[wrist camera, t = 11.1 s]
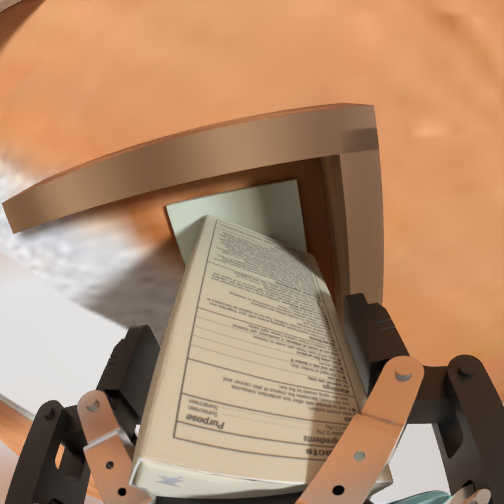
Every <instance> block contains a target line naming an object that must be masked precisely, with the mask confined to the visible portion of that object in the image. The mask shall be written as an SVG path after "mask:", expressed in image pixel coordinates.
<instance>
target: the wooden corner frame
mask: <svg viewBox="0 0 504 504" xmlns="http://www.w3.org/2000/svg"><path fill="white" fill-rule="evenodd" d="M317 157H320V161H321V168H322V176H323V183H324V191H325V199H326V208H327V216H328V226H329V236H330V246H331V257H332V269H333V283H334V298H335V309H336V311H337V314H338V317H339V319H340V322H341V325H342V327H343V330H344V332H345V329H344V303H343V298H344V296H346V295H351V294H356V293H361V292H362V293H363V294H364V296H365V298H366V300H367V302H368V304H372V303H376V302H377V303H379V304H380V305H381V306H382V297H383V267H384V229H383V199H382V181H381V167H380V155H379V145H378V135H377V127H376V118H375V111H374V105H364V104H351V103H337V104H328V105H319V106H312V107H304V108H297V109H290V110H284V111H278V112H272V113H266V114H260V115H255V116H250V117H245V118H240V119H235V120H230V121H225V122H221V123H216V124H212V125H208V126H204V127H199V128H195V129H191V130H188V131H184V132H180V133H176V134H173V135H169V136H165V137H162V138H158V139H155V140H152V141H148V142H145V143H142V144H138V145H135V146H132V147H129V148H126V149H123V150H120V151H117V152H114V153H111V154H108V155H105V156H102V157H100V158H97V159H94V160H91V161H89V162H86V163H83V164H81V165H78V166H76V167H73V168H71V169H68V170H66V171H63V172H61V173H58V174H56V175H53V176H51V177H49V178H46V179H44V180H42V181H41V182H39V183H37V184H35V185H33V186H31V187H29V188H28V189H26V190H24V191H22V192H20V193H19V194H17V195H15V196H13V197H12V198H10V199H8V200H7V201H5V202H3V203H2V205H3V208H4V211H5V214H6V216H7V219H8V221H9V224H10V227H11V229H12V231H13V234H15V233H17V232H20V231H23V230H26V229H29V228H31V227H34V226H37V225H40V224H43V223H46V222H49V221H52V220H55V219H58V218H61V217H64V216H67V215H70V214H73V213H76V212H80V211H83V210H86V209H89V208H93V207H96V206H99V205H103V204H106V203H110V202H113V201H117V200H120V199H124V198H127V197H131V196H135V195H138V194H142V193H146V192H150V191H154V190H158V189H162V188H166V187H170V186H174V185H178V184H182V183H186V182H191V181H195V180H199V179H204V178H208V177H213V176H218V175H222V174H227V173H232V172H237V171H242V170H247V169H252V168H258V167H263V166H268V165H274V164H280V163H285V162H291V161H297V160H304V159H310V158H317ZM166 208H167V211H168V214H169V218H170V221H171V224H172V227H173V230H174V233H175V237H176V240H177V243H178V246H179V249H180V252H181V255H182V258H183V261H184V264H185V267H186V265H187V262H188V259H189V256H190V254H191V251H192V248H193V246H194V243H195V240H196V238H197V235H198V233H199V230H200V228H201V225H202V223H203V220H204V218H205V216H206V215H212V216H215V217H217V218H220V219H223V220H226V221H229V222H232V223H235V224H237V225H240V226H242V227H245V228H248V229H250V230H253V231H255V232H258V233H260V234H263V235H266V236H268V237H271V238H273V239H276V240H278V241H281V242H283V243H286V244H288V245H291V246H293V247H295V248H298V249H300V250H302V251H305V252H307V247H306V240H305V232H304V225H303V218H302V212H301V205H300V198H299V192H298V186H297V180H296V178H295V179H289V180H283V181H278V182H272V183H267V184H261V185H256V186H250V187H245V188H240V189H235V190H230V191H225V192H220V193H215V194H211V195H206V196H201V197H197V198H192V199H188V200H183V201H179V202H174V203H170V204H167V205H166Z"/></svg>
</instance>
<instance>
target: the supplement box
mask: <svg viewBox="0 0 504 504" xmlns="http://www.w3.org/2000/svg"><path fill="white" fill-rule="evenodd" d="M20 1H22V0H0V12H1V11H3V10H5V9H6V8H8V7H10V6H12V5H14V4H16V3H18V2H20Z"/></svg>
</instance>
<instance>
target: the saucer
mask: <svg viewBox="0 0 504 504" xmlns="http://www.w3.org/2000/svg"><path fill="white" fill-rule="evenodd" d="M449 498H450V495H449V494H448V493H446V492H443V491H436V490H434V491H427V492H423V493H419V494H416V495H413V496H410V497H407V498H404V499H403V500H400V501H397V502H394V503H391V504H443V503H445V502H446V501H447V500H448V499H449Z"/></svg>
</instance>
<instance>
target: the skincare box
mask: <svg viewBox="0 0 504 504" xmlns="http://www.w3.org/2000/svg"><path fill="white" fill-rule="evenodd" d="M367 400H368V398H367V395H366V392H365V389H364V386H363V383H362V380H361V377H360V374H359V371H358V368H357V365H356V363H355V360H354V357H353V355H352V352H351V349H350V346H349V343H348V340H347V338H346V335H345V332H344V330H343V327H342V325H341V322H340V319H339V317H338V314H337V311H336V309H335V306H334V303H333V301H332V298H331V296H330V293H329V290H328V288H327V285H326V283H325V280H324V278H323V275H322V273H321V270H320V268H319V266H318V263H317V261H316V258H315V256H313V255H312V254H309V253H307V252H305V251H302V250H300V249H298V248H295V247H293V246H291V245H288V244H286V243H283V242H281V241H278V240H276V239H273V238H271V237H268V236H266V235H263V234H260V233H258V232H255V231H253V230H250V229H248V228H245V227H242V226H240V225H237V224H235V223H232V222H229V221H226V220H223V219H220V218H217V217H215V216H212V215H206V216H205V218H204V220H203V223H202V225H201V228H200V230H199V233H198V235H197V238H196V240H195V243H194V246H193V248H192V251H191V254H190V256H189V259H188V262H187V265H186V268H185V271H184V274H183V277H182V280H181V283H180V286H179V289H178V292H177V295H176V299H175V302H174V305H173V308H172V312H171V315H170V318H169V321H168V325H167V328H166V331H165V334H164V338H163V341H162V345H161V348H160V352H159V355H158V359H157V362H156V366H155V370H154V373H153V377H152V381H151V385H150V389H149V392H148V396H147V400H146V404H145V408H144V412H143V416H142V421H141V425H140V429H139V433H138V438H137V442H136V446H135V451H134V456H133V461H132V466H131V471H130V476H129V481H128V484H129V485H130V484H132V483H133V484H135V485H136V486H138V487H142V488H146V489H148V490H149V491H151V492H152V493H153V494H155V496H164V497H176V498H195V499H235V498H252V497H263V496H273V495H281V494H289V493H296V492H302V491H305V490H306V488H307V487H308V486H309V484H310V483H311V481H312V480H313V479H314V477H315V476H316V474H317V473H318V472H319V470H320V469H321V467H322V466H323V464H324V463H325V461H326V460H327V458H328V457H329V455H330V454H331V452H332V451H333V449H334V448H335V446H336V444H337V443H338V441H339V440H340V438H341V436H342V435H343V433H344V432H345V430H346V428H347V427H348V425H349V423H350V422H351V420H352V418H353V417H354V415H355V414H356V413H357V412H361V410H362V409H363V407H364V405H365V403H366V401H367ZM356 461H361V460H356ZM392 483H393V479H392V475H391V472H390V468H389V465H388V464H387V466H386V467H385V468H384V469H383V471H382V473H381V474H380V476H379V478H378V480H377V482H376V484H375V485H374V487H373V489H372V491H371V492H370V494H369V496H371V495H373V494H375V493H377V492H379V491H380V490H382V489H384V488H386V487H388V486H390V485H391V484H392ZM369 496H368V497H369ZM368 497H367V498H368Z"/></svg>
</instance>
